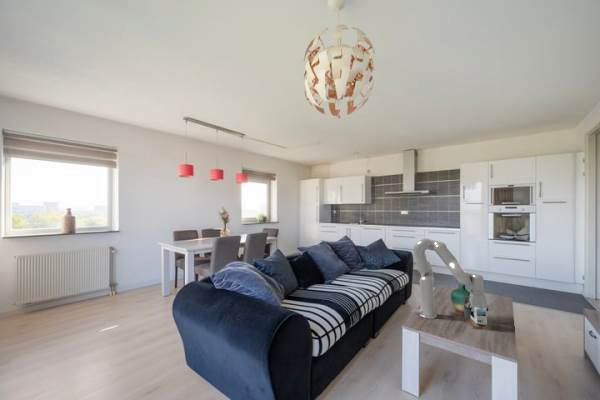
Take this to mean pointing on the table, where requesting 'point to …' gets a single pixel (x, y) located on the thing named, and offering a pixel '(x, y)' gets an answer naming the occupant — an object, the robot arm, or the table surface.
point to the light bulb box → (479, 316)
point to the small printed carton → (469, 320)
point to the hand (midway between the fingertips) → (478, 316)
